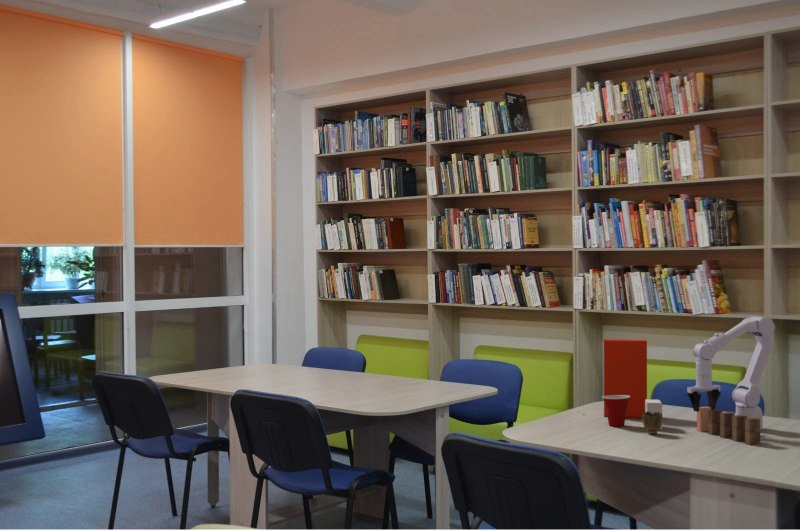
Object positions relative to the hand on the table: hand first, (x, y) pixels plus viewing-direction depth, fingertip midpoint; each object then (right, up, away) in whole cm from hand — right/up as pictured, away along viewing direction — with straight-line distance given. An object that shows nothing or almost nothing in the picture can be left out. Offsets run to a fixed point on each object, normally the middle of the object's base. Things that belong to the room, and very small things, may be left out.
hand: (704, 410), depth 310 cm
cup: (-22, -8, -5) cm, 24 cm away
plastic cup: (-31, -8, +10) cm, 34 cm away
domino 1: (0, -8, 0) cm, 8 cm away
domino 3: (+4, -8, -11) cm, 14 cm away
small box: (-18, -8, +6) cm, 20 cm away
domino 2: (+2, -8, -6) cm, 10 cm away
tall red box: (-22, -8, +30) cm, 38 cm away
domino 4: (+7, -8, -17) cm, 20 cm away
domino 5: (+9, -8, -22) cm, 25 cm away
